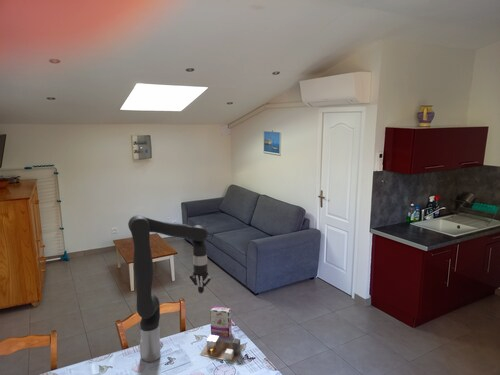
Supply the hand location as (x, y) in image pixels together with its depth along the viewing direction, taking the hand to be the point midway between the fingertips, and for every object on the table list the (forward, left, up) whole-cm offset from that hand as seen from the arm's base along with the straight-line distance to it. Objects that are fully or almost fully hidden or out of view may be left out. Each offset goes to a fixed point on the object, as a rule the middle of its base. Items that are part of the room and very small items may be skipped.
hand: (201, 292), depth 190 cm
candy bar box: (+8, +8, -29) cm, 31 cm away
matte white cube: (+20, -10, -28) cm, 36 cm away
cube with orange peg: (+9, -8, -28) cm, 30 cm away
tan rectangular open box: (+14, -6, -29) cm, 33 cm away
